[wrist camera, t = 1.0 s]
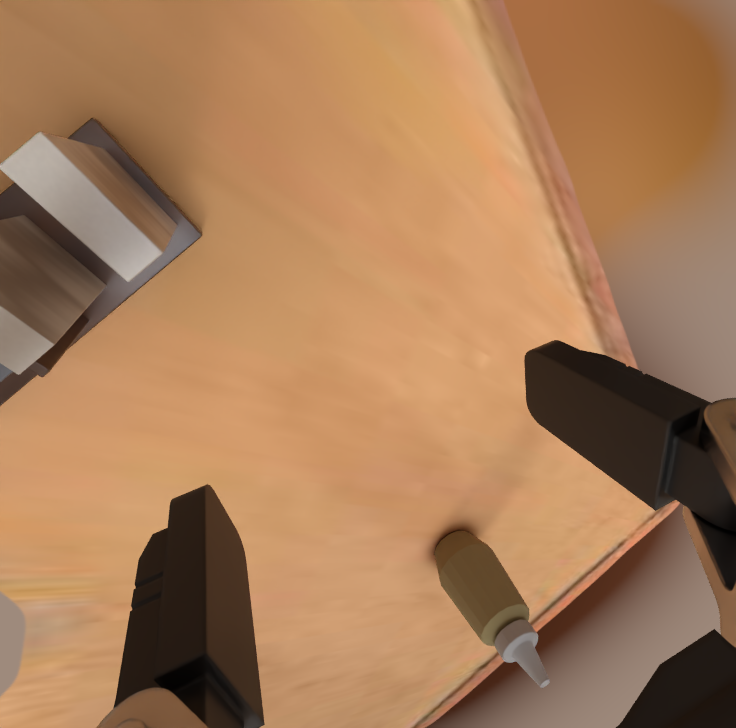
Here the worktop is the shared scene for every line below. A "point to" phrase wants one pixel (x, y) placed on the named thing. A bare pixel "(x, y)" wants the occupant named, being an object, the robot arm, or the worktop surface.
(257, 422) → the worktop surface
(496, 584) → the squeeze bottle
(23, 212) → the book rack
